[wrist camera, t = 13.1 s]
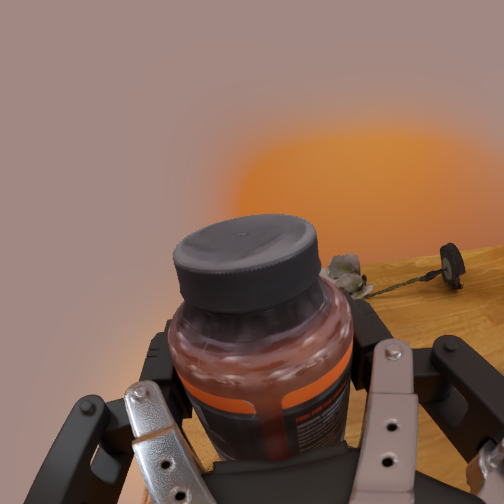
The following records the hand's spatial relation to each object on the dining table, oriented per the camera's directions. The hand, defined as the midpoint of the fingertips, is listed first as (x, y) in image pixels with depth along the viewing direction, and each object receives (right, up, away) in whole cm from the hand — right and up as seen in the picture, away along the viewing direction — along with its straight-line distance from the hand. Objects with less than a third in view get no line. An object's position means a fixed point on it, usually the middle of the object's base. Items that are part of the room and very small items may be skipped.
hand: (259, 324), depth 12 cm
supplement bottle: (+1, -7, 0) cm, 7 cm away
